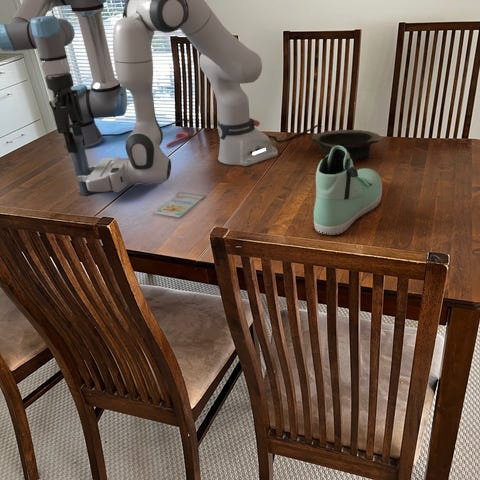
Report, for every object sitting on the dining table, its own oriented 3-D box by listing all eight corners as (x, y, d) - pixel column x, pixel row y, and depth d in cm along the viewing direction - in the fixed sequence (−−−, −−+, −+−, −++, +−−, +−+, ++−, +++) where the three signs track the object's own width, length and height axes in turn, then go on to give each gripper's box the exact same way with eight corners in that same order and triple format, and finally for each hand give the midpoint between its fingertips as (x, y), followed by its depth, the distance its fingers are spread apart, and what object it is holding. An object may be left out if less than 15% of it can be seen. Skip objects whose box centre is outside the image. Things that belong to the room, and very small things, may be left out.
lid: (75, 144, 149) (73, 139, 148) (63, 142, 151) (61, 137, 150) (86, 138, 153) (85, 134, 152) (74, 137, 155) (73, 132, 154)
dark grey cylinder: (88, 196, 159) (74, 140, 149) (78, 193, 161) (63, 139, 151) (97, 190, 162) (84, 135, 152) (88, 188, 164) (74, 134, 154)
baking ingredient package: (153, 211, 144) (180, 191, 155) (154, 213, 144) (180, 193, 156) (178, 216, 140) (203, 195, 152) (178, 217, 141) (204, 197, 152)
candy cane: (157, 146, 195) (156, 142, 195) (181, 134, 206) (181, 131, 205) (168, 148, 192) (167, 144, 192) (192, 136, 202) (191, 132, 202)
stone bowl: (339, 174, 158) (339, 147, 154) (298, 157, 178) (296, 133, 174) (397, 156, 167) (398, 130, 163) (351, 141, 187) (350, 118, 183)
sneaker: (389, 187, 148) (396, 123, 138) (356, 242, 123) (361, 168, 112) (346, 181, 154) (350, 119, 144) (306, 232, 129) (307, 161, 118)
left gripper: (60, 67, 150) (78, 139, 162) (30, 82, 134) (52, 159, 147) (82, 66, 148) (99, 139, 160) (54, 81, 133) (75, 159, 145)
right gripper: (127, 151, 165) (87, 153, 165) (112, 175, 147) (68, 178, 148) (130, 168, 168) (92, 170, 169) (116, 194, 150) (73, 196, 151)
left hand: (77, 148), depth 153 cm, fingers closed on lid, 5 cm apart
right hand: (81, 174), depth 158 cm, fingers closed on dark grey cylinder, 4 cm apart
